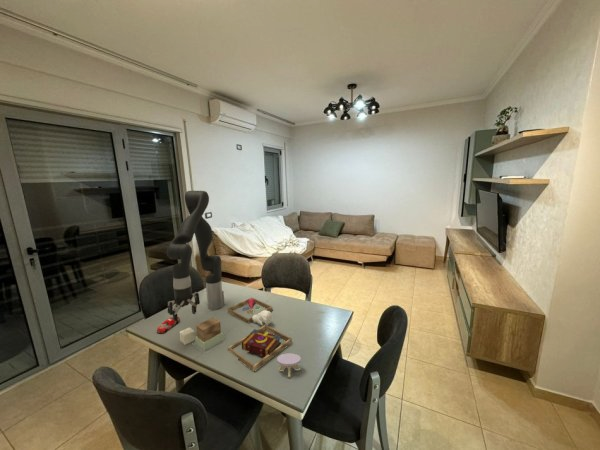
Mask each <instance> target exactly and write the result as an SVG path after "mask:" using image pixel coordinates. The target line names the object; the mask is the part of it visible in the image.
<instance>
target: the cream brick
mask: <svg viewBox="0 0 600 450" xmlns="http://www.w3.org/2000/svg"><path fill="white" fill-rule="evenodd" d="M195 336H196V333H195V330H194V329H192V328H191V327H190V326H189V327H187V328H185V329H182V330H180V331H179V341H180V342H181V343H182V344H184V345H187V344H189V343H191V342H192V343H193V342H195Z"/></svg>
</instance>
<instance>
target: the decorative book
mask: <svg viewBox="0 0 600 450" xmlns="http://www.w3.org/2000/svg"><path fill="white" fill-rule="evenodd" d="M249 334H250V335H249ZM249 334H248V335H249V336H248V335H247V336H248V337H247V338H246V339H245V340H244V341H243V342H242V343H241V349H242V350H243V351H246V352H247V354H254V355H257V356H259V357H261V358H264V357H265V356H267V355H270V353H271V352H272V351H274V350H275V349H276V348H278V347H279V346H280V345H282V342H280V340H281V336H279V335H275V334H274V335H273V334H272V333H270V332H268V331H264V332H261V331H259V330H258V329H253V330H252V331H251V332H250V333H249Z"/></svg>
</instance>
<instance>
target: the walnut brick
mask: <svg viewBox="0 0 600 450" xmlns="http://www.w3.org/2000/svg"><path fill="white" fill-rule="evenodd" d="M195 327H196V328H195V329H196V336H197V337H198V338H199V339H200V340H202V341H203V342H205V341H207V340H209V339H210V338H212V337H214V336H216V335H218V334H220V333H221V332H222V330H221V329H222V327H221V321H220V320H218V319H217V318H215V317H214V316H213V317H211V318H208V319H207V320H205V321H202V322H201V323H198V324H196V325H195Z"/></svg>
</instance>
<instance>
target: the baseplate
mask: <svg viewBox="0 0 600 450" xmlns="http://www.w3.org/2000/svg"><path fill="white" fill-rule="evenodd" d="M227 342H228V340H227V339H226V338H224V337H223V341H222V342H220V343H218V344H216V345H215V346H213V347H211V348H209V349H208V350H206V351H203V350H202V349H201V348H200V347H199V346H197V345H196V341H195V340H194V341H193V342H192V343H191V344H192V345H193V346H194V347H195V348H196V349H198V351H200V352H201V353H202V354H203V355H206V354H208V353H211V352H212V351H213V350H215V349H217V348H218V347H220V346H222V345H224V344H226V343H227Z"/></svg>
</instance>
